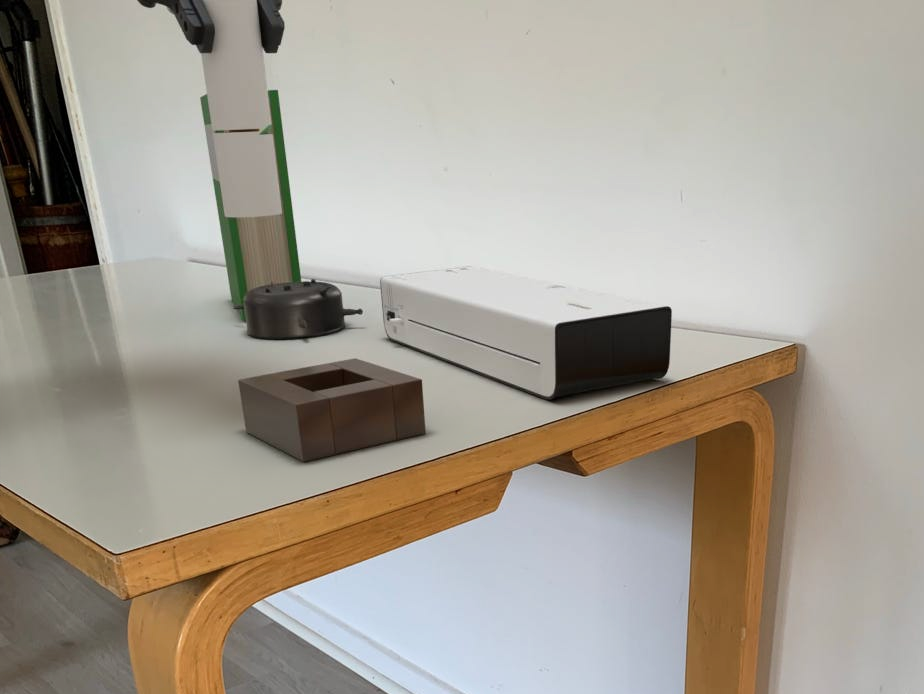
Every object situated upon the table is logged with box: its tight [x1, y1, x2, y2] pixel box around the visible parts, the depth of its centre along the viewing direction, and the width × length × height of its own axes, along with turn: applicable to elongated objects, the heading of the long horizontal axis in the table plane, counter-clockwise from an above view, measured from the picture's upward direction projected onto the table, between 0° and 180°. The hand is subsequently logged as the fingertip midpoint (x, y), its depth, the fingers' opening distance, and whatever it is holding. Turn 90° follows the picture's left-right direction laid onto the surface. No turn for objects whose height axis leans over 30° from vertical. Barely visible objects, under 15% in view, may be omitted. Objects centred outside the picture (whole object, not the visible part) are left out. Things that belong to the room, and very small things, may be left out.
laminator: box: [379, 265, 673, 401], centre depth 92 cm, size 34×12×6 cm, turn 29°
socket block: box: [237, 358, 427, 463], centre depth 73 cm, size 10×10×4 cm
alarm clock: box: [232, 278, 364, 340], centre depth 112 cm, size 11×5×16 cm
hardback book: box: [199, 89, 302, 323], centre depth 121 cm, size 18×7×24 cm, turn 17°
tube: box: [200, 0, 282, 217], centre depth 71 cm, size 4×4×15 cm
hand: (242, 41), depth 68 cm, fingers closed on tube, 4 cm apart
